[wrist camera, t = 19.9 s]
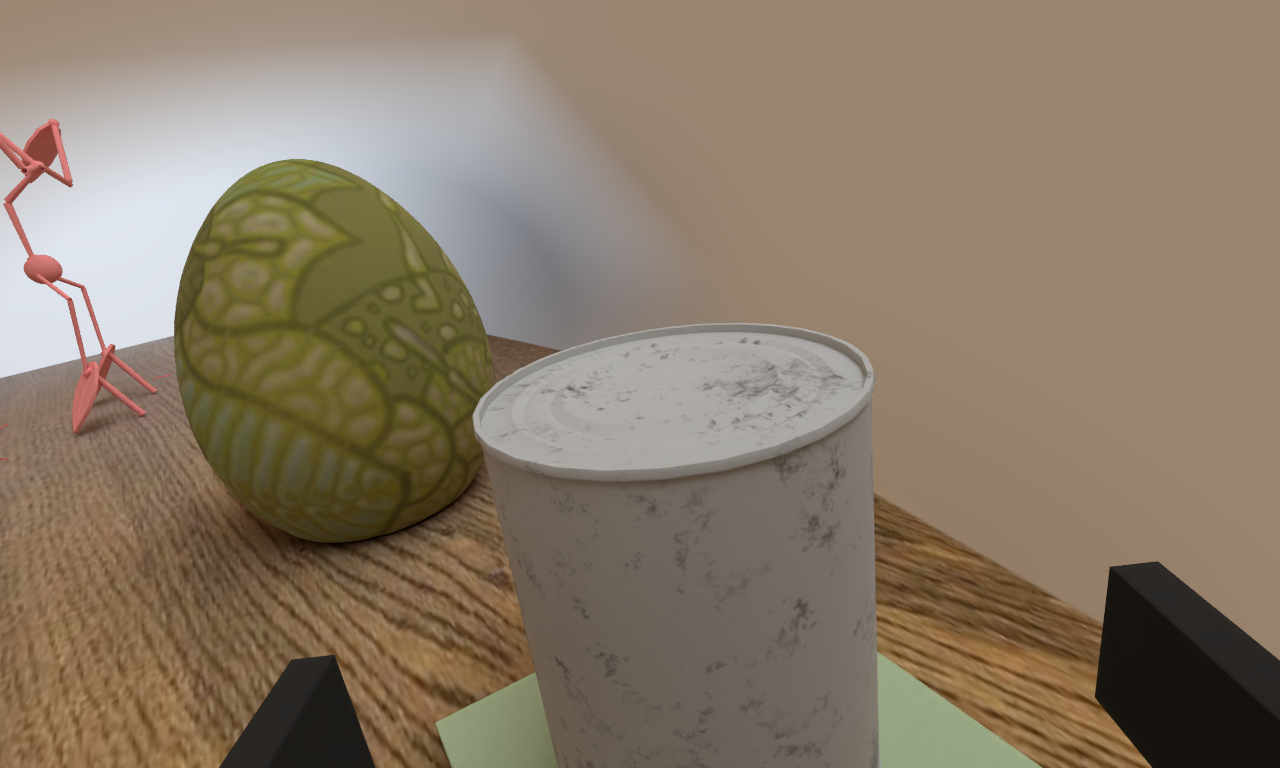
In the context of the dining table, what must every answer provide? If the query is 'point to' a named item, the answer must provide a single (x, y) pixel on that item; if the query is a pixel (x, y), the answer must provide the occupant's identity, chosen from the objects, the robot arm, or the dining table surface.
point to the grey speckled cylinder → (694, 545)
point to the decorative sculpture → (329, 355)
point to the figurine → (49, 270)
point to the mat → (907, 714)
